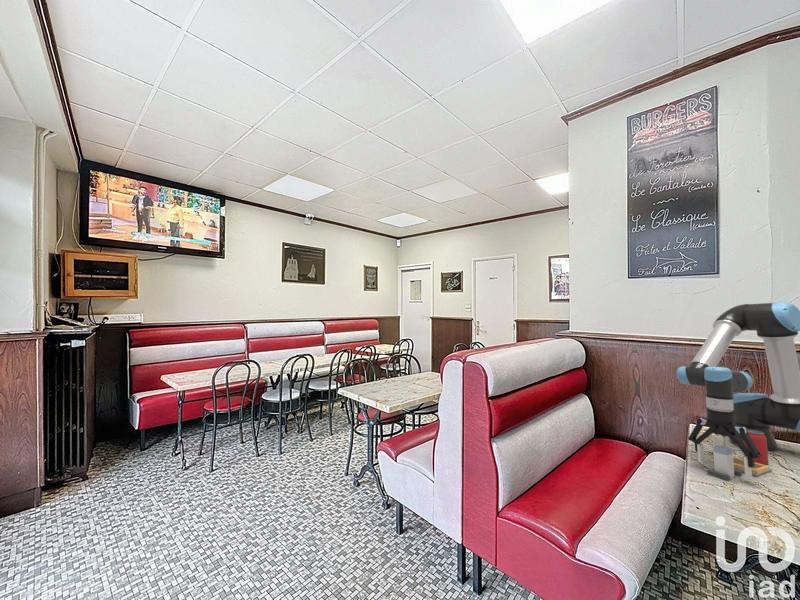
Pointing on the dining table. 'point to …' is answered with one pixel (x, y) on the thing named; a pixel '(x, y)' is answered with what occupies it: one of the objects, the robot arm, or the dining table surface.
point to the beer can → (759, 445)
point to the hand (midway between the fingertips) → (723, 468)
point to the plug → (723, 460)
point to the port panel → (756, 470)
